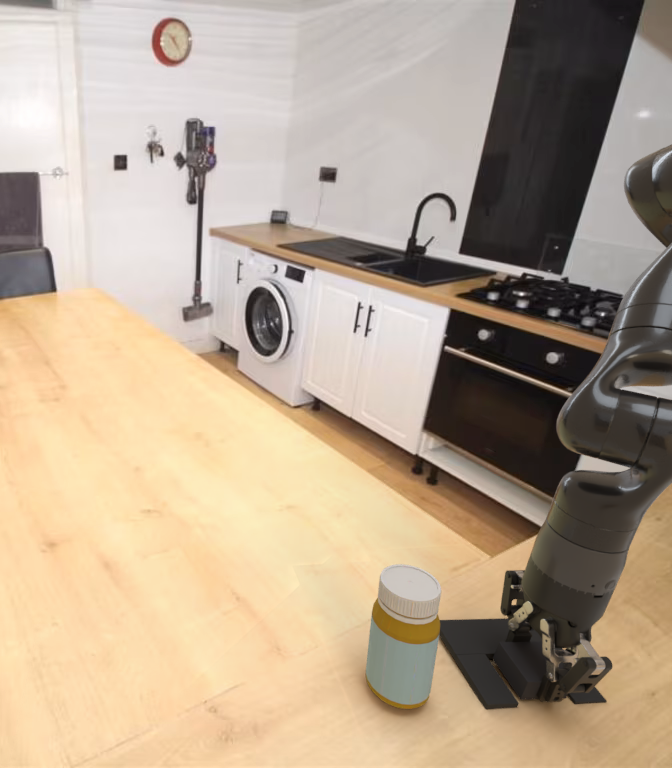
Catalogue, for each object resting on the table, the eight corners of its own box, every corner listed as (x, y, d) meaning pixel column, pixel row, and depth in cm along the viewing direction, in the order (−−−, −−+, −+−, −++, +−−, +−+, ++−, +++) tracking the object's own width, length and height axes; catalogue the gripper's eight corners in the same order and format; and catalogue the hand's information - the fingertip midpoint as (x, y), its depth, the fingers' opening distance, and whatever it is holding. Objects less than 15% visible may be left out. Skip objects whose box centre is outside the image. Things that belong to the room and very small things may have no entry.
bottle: (380, 653, 69) (392, 553, 64) (438, 685, 64) (455, 580, 59) (354, 687, 64) (364, 583, 59) (414, 724, 59) (431, 614, 54)
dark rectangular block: (534, 658, 67) (541, 640, 66) (566, 698, 62) (574, 680, 61) (492, 659, 67) (498, 641, 66) (520, 699, 62) (527, 681, 61)
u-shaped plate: (534, 623, 73) (536, 617, 73) (604, 707, 62) (607, 701, 62) (432, 625, 73) (434, 619, 72) (485, 710, 62) (487, 704, 61)
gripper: (498, 522, 64) (465, 628, 71) (590, 619, 51) (539, 737, 58) (559, 521, 64) (521, 626, 71) (667, 617, 51) (607, 734, 58)
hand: (529, 675), depth 64 cm, fingers closed on dark rectangular block, 5 cm apart
